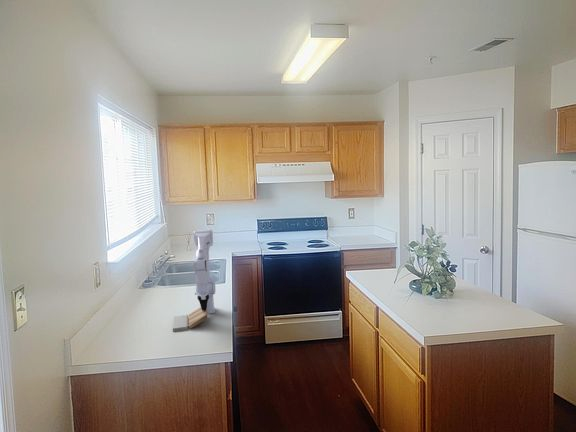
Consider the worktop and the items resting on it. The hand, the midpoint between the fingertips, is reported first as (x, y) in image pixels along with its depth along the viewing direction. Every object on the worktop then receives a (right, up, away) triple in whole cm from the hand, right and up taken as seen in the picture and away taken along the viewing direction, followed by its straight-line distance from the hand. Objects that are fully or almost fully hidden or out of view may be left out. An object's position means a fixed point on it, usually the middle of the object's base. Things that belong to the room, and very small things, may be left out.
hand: (204, 310), depth 213 cm
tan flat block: (-3, -4, 0) cm, 4 cm away
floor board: (-11, -7, -2) cm, 13 cm away
